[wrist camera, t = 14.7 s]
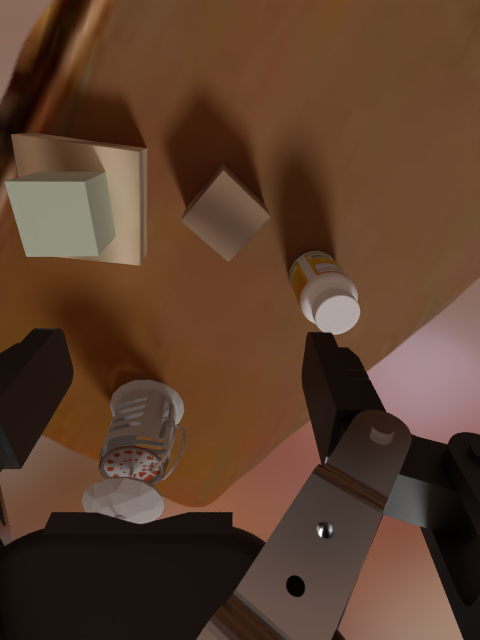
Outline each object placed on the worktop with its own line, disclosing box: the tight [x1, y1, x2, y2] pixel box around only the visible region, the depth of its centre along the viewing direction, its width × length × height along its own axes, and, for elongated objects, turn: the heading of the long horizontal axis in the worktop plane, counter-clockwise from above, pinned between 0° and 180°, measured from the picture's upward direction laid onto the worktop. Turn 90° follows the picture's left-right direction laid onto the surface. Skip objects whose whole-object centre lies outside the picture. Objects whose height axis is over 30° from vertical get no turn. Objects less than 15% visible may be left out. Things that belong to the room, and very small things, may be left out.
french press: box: [82, 380, 186, 524], centre depth 37 cm, size 10×12×25 cm
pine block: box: [11, 133, 147, 265], centre depth 33 cm, size 10×10×4 cm
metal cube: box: [181, 163, 271, 262], centre depth 33 cm, size 6×6×6 cm
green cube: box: [4, 172, 116, 257], centre depth 29 cm, size 6×6×6 cm
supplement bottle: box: [289, 251, 360, 334], centre depth 35 cm, size 5×5×10 cm
